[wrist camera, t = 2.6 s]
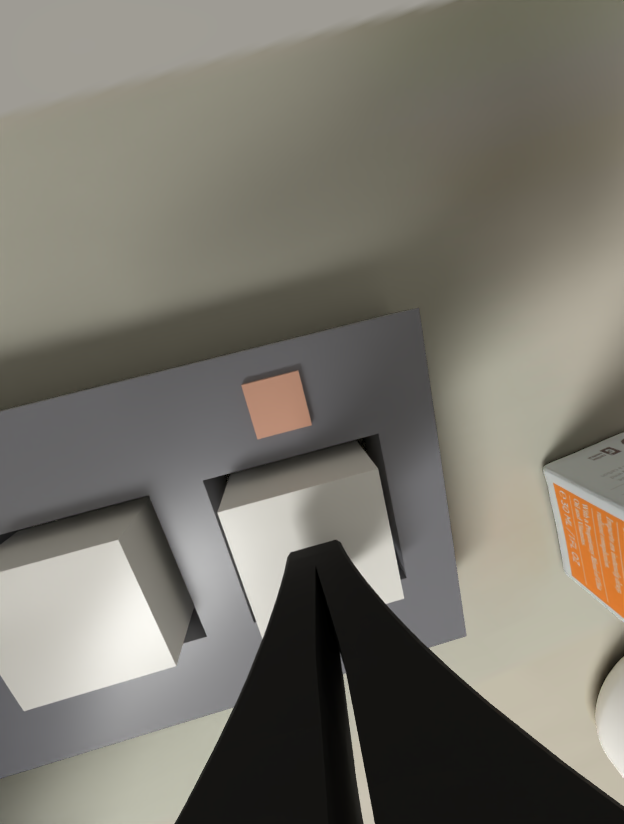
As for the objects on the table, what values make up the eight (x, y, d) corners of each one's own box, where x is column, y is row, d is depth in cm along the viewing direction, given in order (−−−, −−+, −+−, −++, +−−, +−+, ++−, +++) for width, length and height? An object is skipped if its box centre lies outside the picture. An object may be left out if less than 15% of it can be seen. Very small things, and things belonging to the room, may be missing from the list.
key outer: (379, 547, 12) (404, 598, 10) (265, 580, 12) (263, 640, 9) (356, 440, 11) (378, 468, 8) (230, 474, 11) (217, 512, 8)
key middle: (196, 600, 12) (176, 666, 9) (75, 634, 11) (24, 711, 9) (153, 494, 10) (118, 539, 8) (18, 530, 10) (-58, 587, 8)
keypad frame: (437, 590, 14) (469, 641, 12) (-101, 750, 13) (-185, 841, 10) (391, 313, 11) (421, 307, 9) (-318, 489, 10) (-502, 536, 7)
